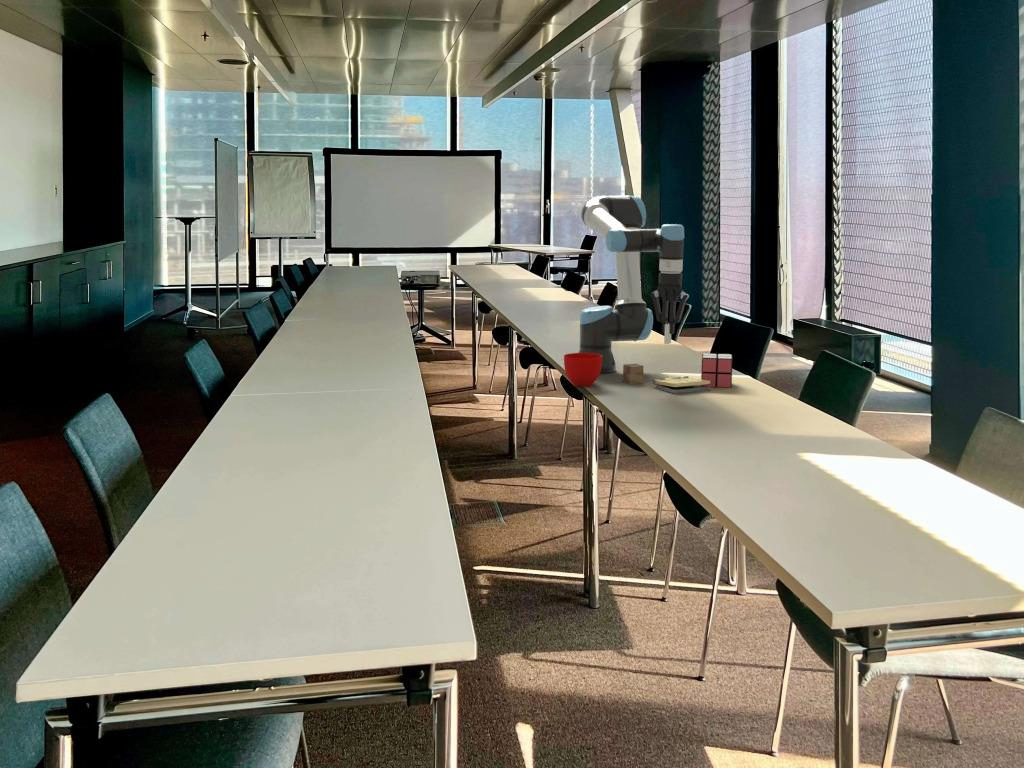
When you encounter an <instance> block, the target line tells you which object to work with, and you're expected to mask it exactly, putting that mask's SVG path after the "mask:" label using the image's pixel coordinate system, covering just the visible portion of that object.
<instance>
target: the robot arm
mask: <svg viewBox="0 0 1024 768" xmlns="http://www.w3.org/2000/svg"><path fill="white" fill-rule="evenodd" d="M580 213H581V220H582V223H583V224H584V226H586V227H587V228H589V229H590V230H592V231H593V230H594V231H596V232H597V233H598V234H600V236H602V237H603V238H604V239H605V246H606V249H607V250H608V251H609V252H610V253H611V252H612V253H615V254H614V255H615V267H616V268H615V269H616V284H617V285H616V286H617V299H618V300H617V302H616V303H615V305H614V308H613V307H612V306H611V305H598V306H590V307H586V308H584V309H582V310H581V312H580V317H579V349H578V353H593V354H599V355H602V367H601V372H600V374H608V373H609V374H610V373H614V372H616V371H617V370H616V369H617V364H616V361H615V358H614V354H613V351H612V343H613V342H637V341H646V340H647V339H648V338H649V336H651V333H652V330H653V325H654V315H653V311H652V310H651V309H650V308H647V303H646V302H645V301H644V300H643V297H642V287H641V286H642V283H641V271H640V270H641V267H640V254H639V252H641V253H653V252H655V253H656V252H658V253H659V263H658V264H659V266H658V267H659V268H658V270H659V271H660V272H659V273H658V286H657V287H656V290H654V291H652V292H650V294H649V295H650V297H651V299H652V303H653V307H654V313H655V318H656V321H657V322H659V323H661V333H662V334H664V341H663V344H664V345H669V344H671V343H672V335H673V334H674V333H675V324H677V323H679V322H681V321H682V316H683V313H684V310H685V306H686V302H687V300H688V299H689V298H690V294H689V293H686V292H685V291H684V290H683V287H682V284H683V273H682V272H683V269H684V268H683V265H684V264H683V263H684V262H683V261H684V245H685V244H684V243H685V241H684V240H685V227H684V226H683V224H677V223H675V224H673V223H671V224H669V223H666V224H662V225H661V228H660V227H659V228H658V227H656V228H643V227H644V226H645V224H646V221H647V211H646V205H645V203H644V202H643V200H642V199H641V197H639V196H636V195H628V194H627V195H597V196H594V197H592V198H590V199H589V200H588V201H586V202H585V204H584V205H583V206H582V209H581V212H580ZM659 297H660V298H661V299H662V310H661V304H660V298H659ZM679 297H680V301H679V304H678V308H677V299H678V298H679ZM676 309H677V311H676ZM668 319H669V321H668Z"/></svg>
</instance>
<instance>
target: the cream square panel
mask: <svg viewBox="0 0 1024 768" xmlns="http://www.w3.org/2000/svg"><path fill="white" fill-rule="evenodd" d="M678 377H679V376H678ZM678 377H674V376H673V377H665V378H663V379H664V380H658V381H656V384H659V385H665V386H671V387H681V386H692V385H703V384H710V380H703V379H701V378H695V377H689V378H680V379H679V378H678Z"/></svg>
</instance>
